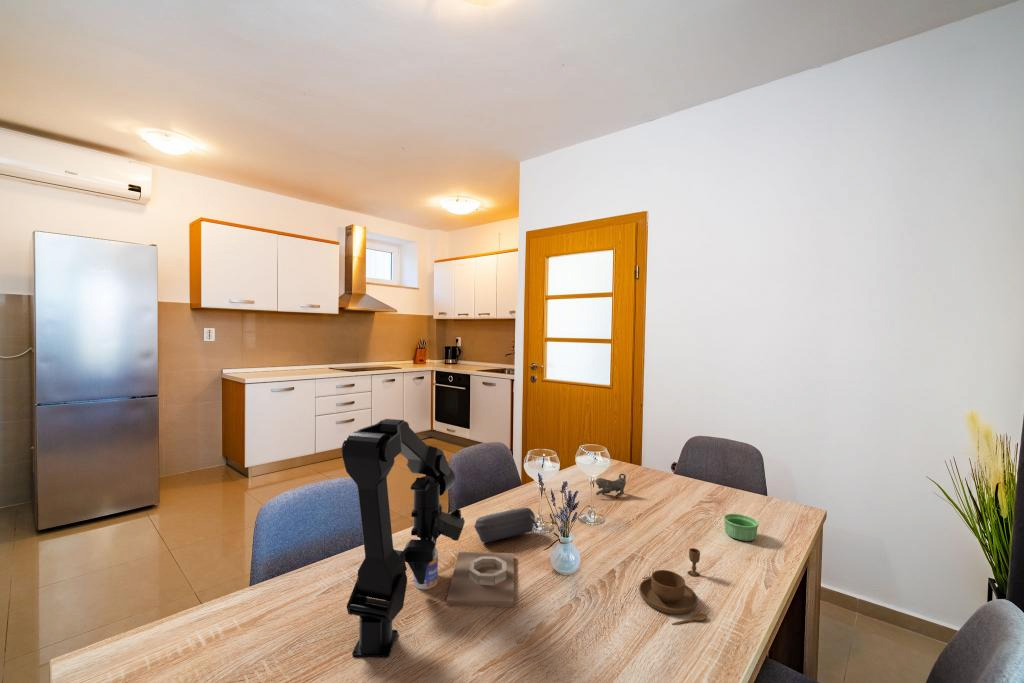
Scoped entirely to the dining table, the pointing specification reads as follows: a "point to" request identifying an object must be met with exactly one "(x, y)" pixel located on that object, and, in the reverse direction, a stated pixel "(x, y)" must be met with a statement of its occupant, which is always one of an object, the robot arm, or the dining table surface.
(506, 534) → the glasses case
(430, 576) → the pill bottle
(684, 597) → the place setting
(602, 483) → the dog figurine
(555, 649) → the dining table surface
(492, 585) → the socket board
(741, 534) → the ramekin
